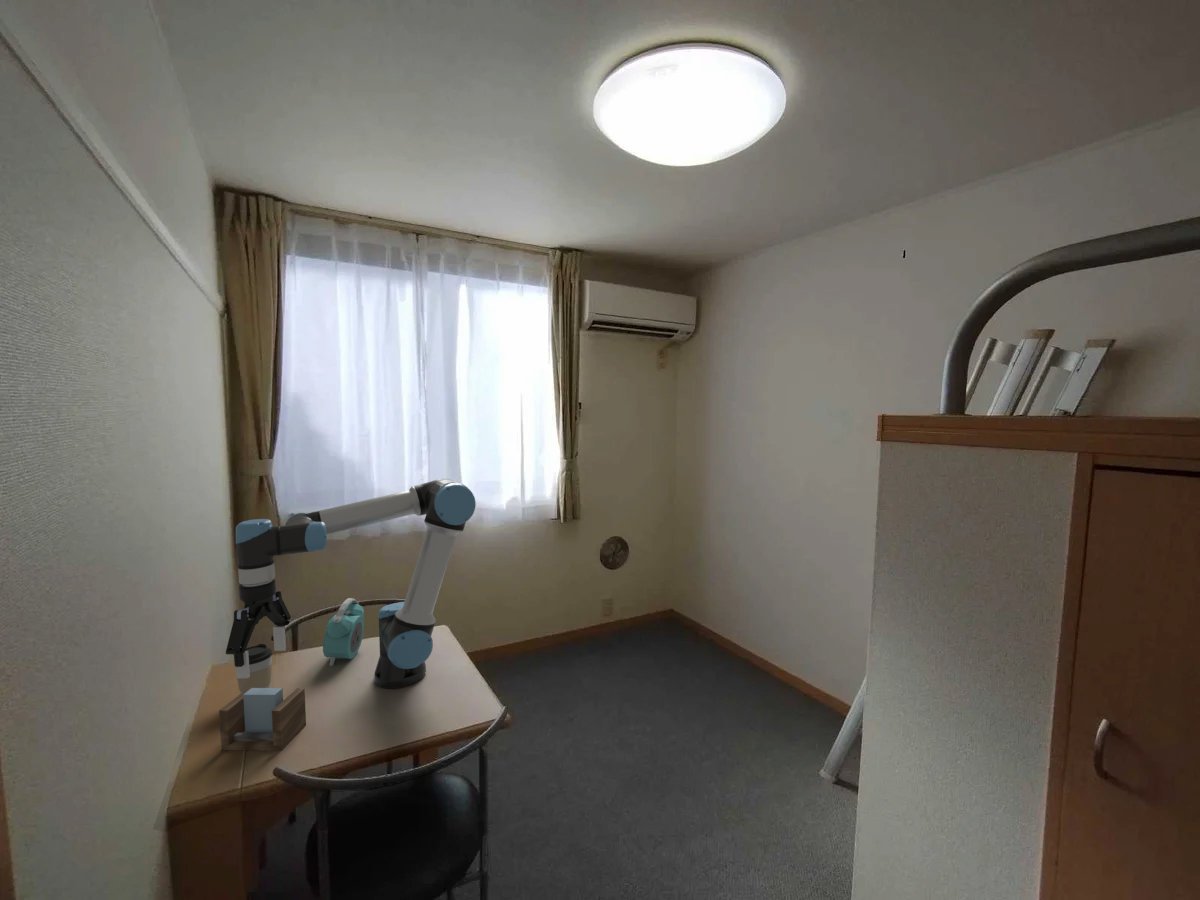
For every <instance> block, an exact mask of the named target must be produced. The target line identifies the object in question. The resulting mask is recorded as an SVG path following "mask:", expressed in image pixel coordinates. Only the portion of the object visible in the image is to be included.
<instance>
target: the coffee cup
mask: <svg viewBox="0 0 1200 900" xmlns="http://www.w3.org/2000/svg"><path fill="white" fill-rule="evenodd" d="M245 651H248V655H249V670H250V677H249V678H237V677H236V679H237V684H238V685H237V687H238V690H239V695H240V694H241V693H243V692H244V691H245V690H246V689H248V688H271V683H272V670H273V668H272V667H273V659H272V656H273V654H274V653H273V651H272V649H271V648H269V647H268V646H267V645H266V644H265V643H259V644H257V645H253V646H249V647H248V646H247V647H246V650H245Z"/></svg>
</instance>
